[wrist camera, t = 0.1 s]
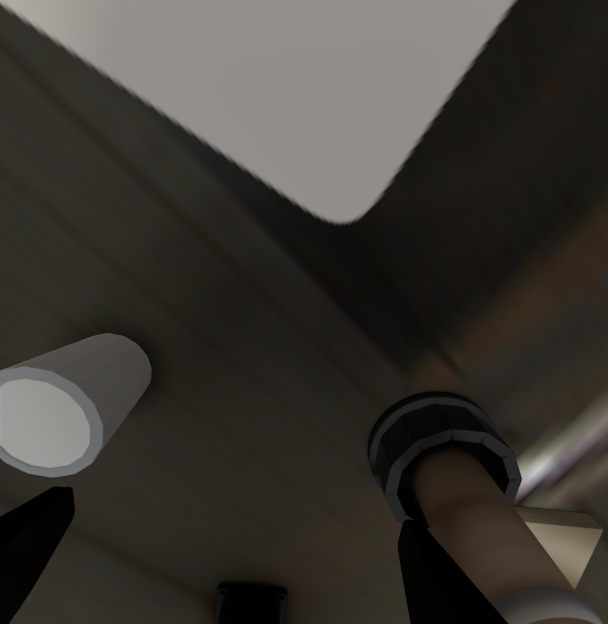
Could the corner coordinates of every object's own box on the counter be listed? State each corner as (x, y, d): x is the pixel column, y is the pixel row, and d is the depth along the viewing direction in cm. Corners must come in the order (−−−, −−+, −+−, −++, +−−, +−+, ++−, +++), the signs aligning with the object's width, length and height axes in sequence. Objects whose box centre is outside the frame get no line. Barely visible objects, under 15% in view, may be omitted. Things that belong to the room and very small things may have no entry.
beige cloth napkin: (543, 611, 30) (555, 630, 29) (420, 600, 30) (426, 619, 28) (587, 513, 27) (603, 529, 26) (451, 500, 27) (459, 516, 25)
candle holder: (474, 502, 27) (502, 549, 23) (358, 491, 26) (367, 536, 23) (508, 398, 24) (547, 432, 20) (380, 385, 24) (394, 416, 20)
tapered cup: (459, 486, 25) (592, 711, 13) (395, 480, 25) (474, 701, 13) (476, 430, 24) (641, 627, 12) (408, 423, 23) (510, 616, 12)
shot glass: (123, 424, 25) (55, 499, 18) (49, 367, 23) (-55, 425, 17) (179, 369, 23) (128, 427, 17) (103, 305, 22) (15, 340, 15)
